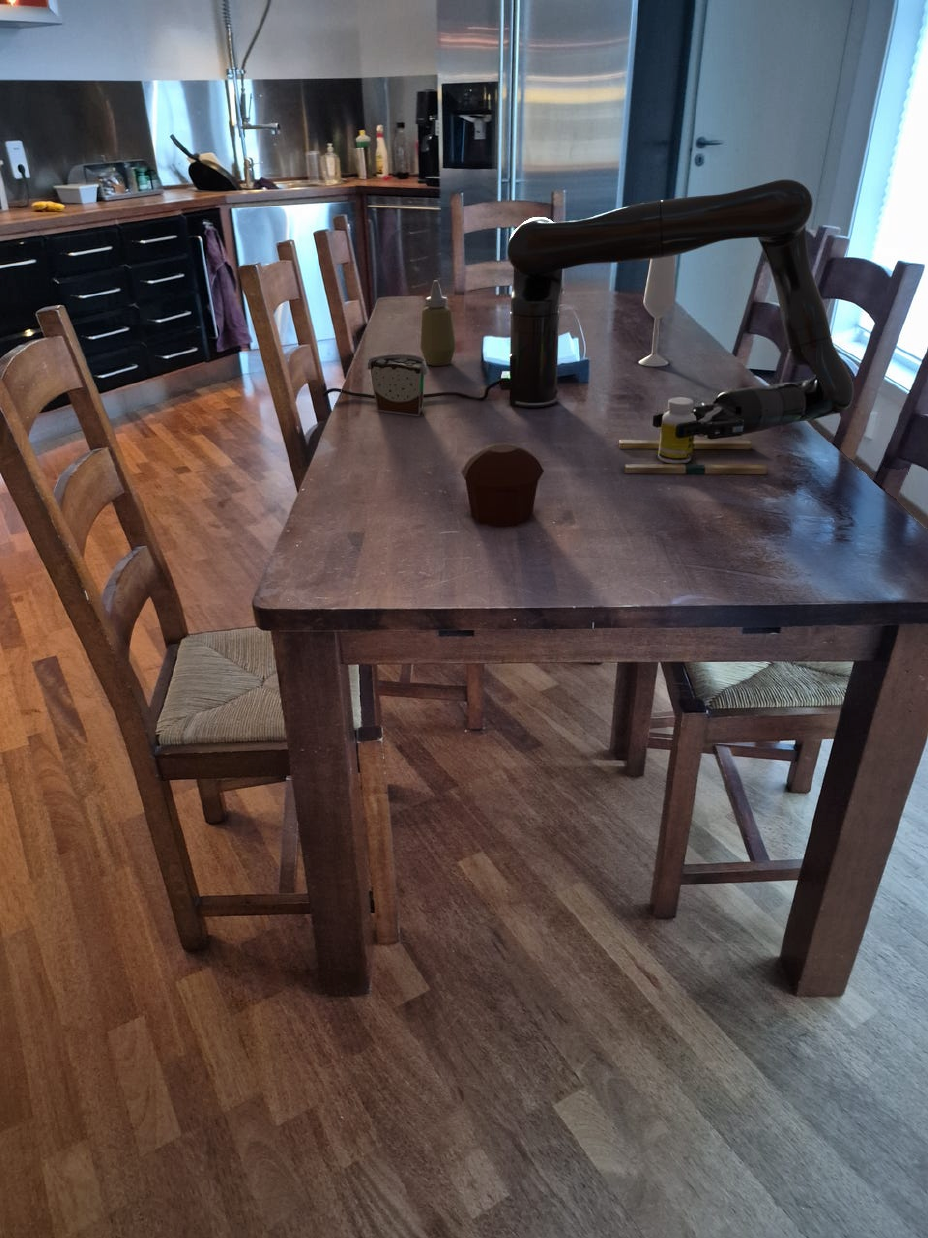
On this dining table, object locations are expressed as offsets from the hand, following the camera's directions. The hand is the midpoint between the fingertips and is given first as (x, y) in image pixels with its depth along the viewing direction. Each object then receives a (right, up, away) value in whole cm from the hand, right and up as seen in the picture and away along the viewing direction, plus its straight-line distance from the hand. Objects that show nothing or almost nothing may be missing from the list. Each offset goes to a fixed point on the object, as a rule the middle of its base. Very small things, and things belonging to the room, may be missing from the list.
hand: (665, 426), depth 139 cm
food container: (-44, +10, +31) cm, 55 cm away
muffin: (-27, -16, -13) cm, 34 cm away
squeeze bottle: (-38, +28, +61) cm, 77 cm away
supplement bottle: (+2, -5, +4) cm, 7 cm away
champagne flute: (+10, +27, +57) cm, 64 cm away
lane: (+5, -5, +4) cm, 8 cm away
